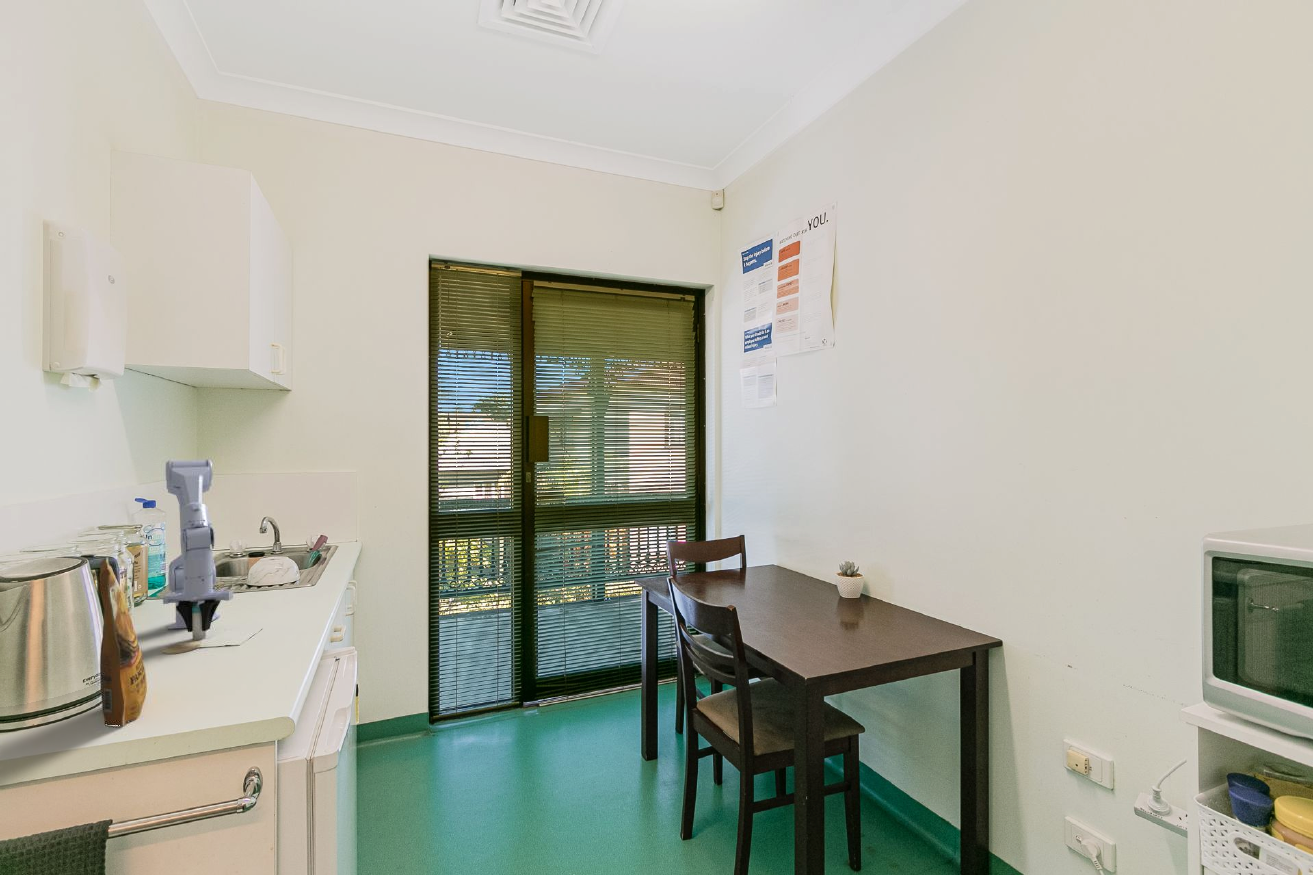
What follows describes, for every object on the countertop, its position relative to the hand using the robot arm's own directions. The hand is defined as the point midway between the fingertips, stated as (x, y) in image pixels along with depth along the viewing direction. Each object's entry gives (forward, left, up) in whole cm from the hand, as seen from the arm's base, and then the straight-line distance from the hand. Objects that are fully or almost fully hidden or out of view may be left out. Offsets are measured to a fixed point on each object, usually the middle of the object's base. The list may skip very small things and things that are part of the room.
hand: (199, 630), depth 148 cm
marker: (0, 0, -2) cm, 2 cm away
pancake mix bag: (+41, +8, -2) cm, 42 cm away
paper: (+2, +8, -2) cm, 8 cm away
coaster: (+7, 0, -2) cm, 7 cm away
